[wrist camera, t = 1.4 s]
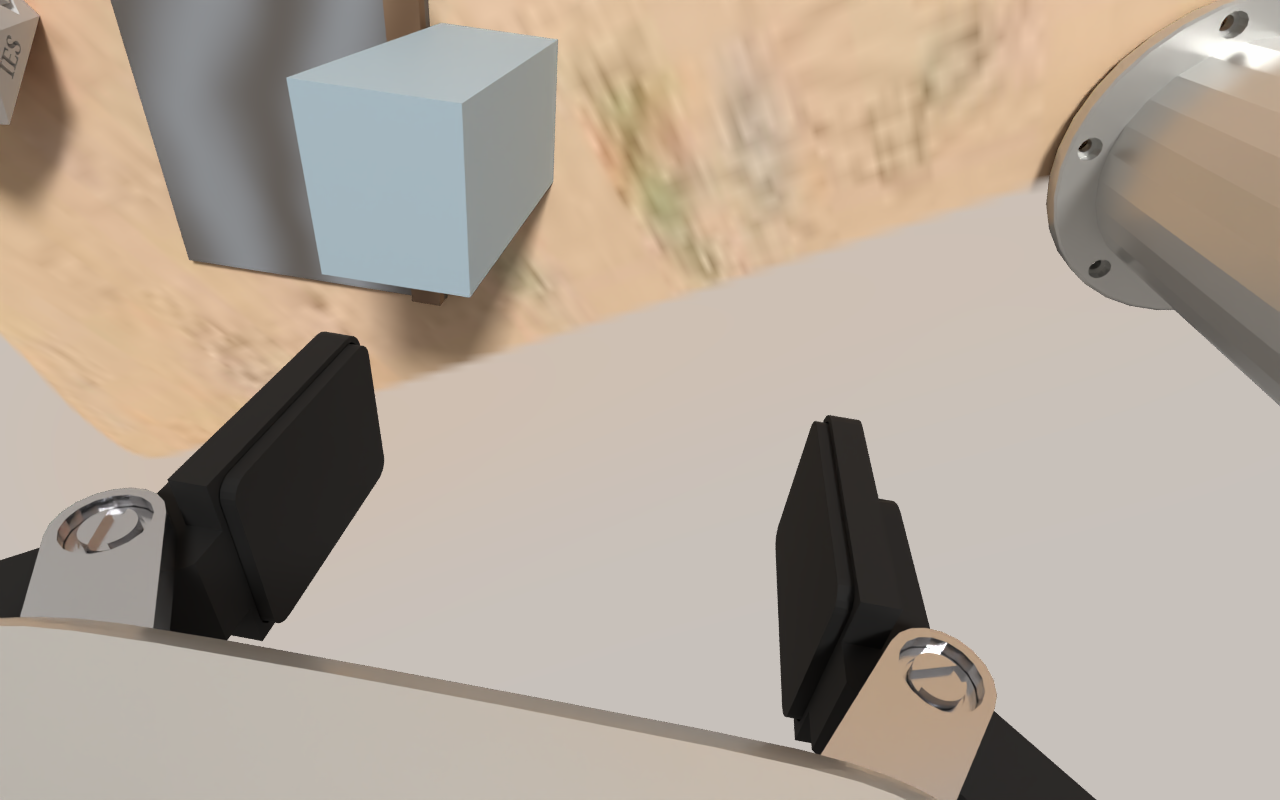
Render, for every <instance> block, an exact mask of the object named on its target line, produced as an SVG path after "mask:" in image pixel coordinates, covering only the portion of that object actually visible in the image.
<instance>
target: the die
mask: <svg viewBox="0 0 1280 800" xmlns="http://www.w3.org/2000/svg"><path fill="white" fill-rule="evenodd" d="M39 17H40V16H39V15H38V14H37V13H36V12H35V11H34V10H33V9H32V8H31V7H30V6H29V5H28V4H27V3H26V2H25V1H24V0H0V124H1V125H10V122H11V119H12V115H13V111H14V108H15V104H16V100H17V97H18V93H19V90H20V86H21V82H22V79H23V75H24V71H25V68H26V64H27V61H28V57H29V53H30V50H31V46H32V42H33V39H34V35H35V32H36V28H37V24H38V21H39Z"/></svg>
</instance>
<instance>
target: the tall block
mask: <svg viewBox="0 0 1280 800" xmlns="http://www.w3.org/2000/svg"><path fill="white" fill-rule="evenodd" d="M557 53H558V40H557V39H550V38H543V37H536V36H529V35H522V34H515V33H508V32H501V31H494V30H487V29H480V28H473V27H466V26H459V25H452V24H445V23H440V24H437V25H434V26H431V27H428V28H425V29H423V30H420V31H417V32H414V33H411V34H408V35H406V36H403V37H400V38H397V39H394V40H391V41H389V42H386V43H383V44H380V45H377V46H374V47H372V48H369V49H366V50H363V51H360V52H357V53H355V54H352V55H349V56H346V57H343V58H340V59H338V60H335V61H332V62H329V63H326V64H323V65H321V66H318V67H315V68H312V69H309V70H306V71H304V72H301V73H298V74H295V75H292V76H289V77H287V78H286V79H287V85H288V90H289V96H290V101H291V107H292V112H293V118H294V123H295V129H296V134H297V140H298V145H299V151H300V156H301V162H302V167H303V173H304V178H305V184H306V189H307V195H308V200H309V206H310V211H311V217H312V222H313V228H314V233H315V239H316V244H317V250H318V255H319V261H320V266H321V272H322V274H324V275H331V276H337V277H343V278H350V279H356V280H362V281H369V282H375V283H381V284H388V285H394V286H400V287H406V288H413V289H419V290H425V291H432V292H438V293H444V294H451V295H457V296H463V297H471V296H472V294H473V293H474V291H475V290H476V289H477V287H478V286H479V284H480V283H481V282H482V280H483V279H484V277H485V276H486V275H487V273H488V272H489V271H490V269H491V268H492V266H493V265H494V264H495V262H496V261H497V259H498V258H499V257H500V255H501V254H502V252H503V251H504V250H505V248H506V247H507V245H508V244H509V243H510V241H511V240H512V238H513V237H514V236H515V234H516V233H517V231H518V230H519V229H520V227H521V226H522V225H523V223H524V222H525V220H526V219H527V218H528V216H529V215H530V213H531V212H532V211H533V209H534V208H535V206H536V205H537V204H538V202H539V201H540V199H541V198H542V197H543V195H544V194H545V192H546V191H547V190H548V188H549V187H550V185H551V184H552V183H553V172H554V142H555V113H556V83H557Z"/></svg>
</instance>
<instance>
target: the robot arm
mask: <svg viewBox="0 0 1280 800" xmlns="http://www.w3.org/2000/svg"><path fill="white" fill-rule="evenodd" d="M1226 17H1227V20H1226V23H1225V24H1224V25H1223V27H1221V28H1220V26H1221V23H1222V22H1223V20H1224V19H1225V18H1226ZM1086 140H1088V141H1087V144H1086V145H1085V147H1083V148H1082V149H1079V147H1080V146H1081V144H1082V143H1083V142H1084V141H1086ZM1046 205H1047V214H1048V223H1049V229H1050V232H1051V235H1052V238H1053V240H1054V243H1055V246H1056V248H1057V251H1058V252H1059V254H1060V255H1061V256H1062V258H1063V259H1064V261H1065V262H1066V263H1067V265H1068V266H1069V267H1070V269H1071V270H1072V271H1073V272H1074V273H1075V274H1076V275H1077V276H1078V277H1079V278H1080V279H1081V280H1082V281H1083V282H1084V283H1085V284H1086V285H1088V286H1089V287H1091V288H1092V289H1094V290H1096V291H1097V292H1099V293H1100V294H1102V295H1104V296H1105V297H1107V298H1110V299H1113V300H1115V301H1118V302H1121V303H1124V304H1126V305H1129V306H1135V307H1142V308H1148V309H1154V310H1176V312H1178V313H1179V314H1180V315H1181V316H1182V317H1183V318H1184V319H1185V320H1186V321H1187V322H1188V323H1190V324H1191V325H1192V326H1193V327H1194V328H1195V329H1196V330H1197V331H1198V332H1199V333H1201V334H1202V335H1203V336H1204V337H1205V338H1206V339H1207V340H1208V341H1209V342H1210V343H1211V344H1213V345H1214V346H1215V347H1216V348H1217V349H1218V350H1219V351H1220V352H1221V353H1222V354H1224V355H1225V356H1226V357H1227V358H1228V359H1229V360H1230V361H1231V362H1232V363H1233V364H1235V365H1236V366H1237V367H1238V368H1239V369H1240V370H1241V371H1242V372H1243V373H1244V374H1246V375H1247V376H1248V377H1249V378H1250V379H1251V380H1252V381H1253V382H1254V383H1255V384H1256V385H1257V386H1259V387H1260V388H1261V389H1262V390H1263V391H1264V392H1265V393H1266V394H1268V396H1270V397H1271V398H1272V399H1273V400H1274V401H1275V402H1276V403H1277V404H1278V405H1279V406H1280V0H1217V1H1215V2H1213V3H1210V4H1208V5H1206V6H1203V7H1201V8H1199V9H1196V10H1194V11H1191V12H1190V13H1188V14H1186V15H1185V16H1183V17H1181V18H1180V19H1178V20H1176V21H1175V22H1173V23H1171V24H1170V25H1168V26H1166V27H1165V28H1163V29H1161V30H1160V31H1158V32H1156V33H1155V34H1154V35H1152V36H1151V37H1150V38H1149V39H1147V40H1146V41H1145V42H1144V43H1142V44H1141V45H1140V46H1139V47H1137V48H1136V49H1135V50H1134V51H1132V52H1131V53H1130V54H1129V55H1127V56H1126V57H1125V58H1124V59H1122V60H1121V61H1120V62H1119V64H1118V65H1117V66H1116V67H1115V68H1114V69H1113V70H1112V71H1111V72H1110V73H1109V74H1108V75H1107V76H1106V77H1105V78H1104V79H1103V80H1102V81H1101V82H1100V83H1099V84H1098V85H1097V87H1096V88H1095V89H1094V90H1093V92H1092V93H1091V94H1090V96H1089V97H1088V99H1087V100H1086V101H1085V103H1084V104H1083V106H1082V107H1081V108H1080V110H1079V111H1078V112H1077V114H1076V115H1075V117H1074V118H1073V120H1072V122H1071V124H1070V126H1069V128H1068V130H1067V132H1066V134H1065V136H1064V138H1063V140H1062V142H1061V144H1060V146H1059V147H1058V150H1057V154H1056V157H1055V160H1054V163H1053V167H1052V170H1051V173H1050V176H1049V184H1048V193H1047V203H1046ZM1094 262H1095V263H1094ZM1093 263H1094V264H1093ZM383 466H384V454H383V448H382V441H381V434H380V427H379V421H378V414H377V407H376V401H375V394H374V387H373V380H372V373H371V367H370V360H369V354H368V350H367V348H366V347H364V346H360V343H359V341H358V339H357V338H355V337H354V336H348V335H342V334H336V333H330V332H321V333H319V334H318V335H316V336H315V337H314V338H313V339H312V340H311V341H310V342H309V343H308V344H307V345H306V346H305V347H304V348H303V349H302V350H301V351H300V352H299V353H298V354H297V355H296V356H295V357H294V358H293V359H292V360H291V361H290V362H288V363H287V364H286V365H285V366H284V367H283V368H282V369H281V370H280V371H279V372H278V373H277V374H276V375H275V376H274V377H273V378H272V379H271V380H270V381H269V382H268V383H267V384H266V385H265V386H264V387H263V388H262V389H261V390H260V391H258V392H257V393H256V394H255V395H254V396H253V397H252V398H251V399H250V400H249V401H248V402H247V403H246V404H245V405H244V406H243V407H242V408H241V409H240V410H239V411H238V412H237V413H236V414H235V415H234V416H233V417H232V418H231V419H230V420H228V421H227V422H226V423H225V424H224V425H223V426H222V427H221V428H220V429H219V430H218V431H217V432H216V433H215V434H214V435H213V436H212V437H211V438H210V439H209V440H208V441H207V442H206V443H205V444H204V445H203V446H202V447H201V448H200V449H198V450H197V451H196V452H195V453H194V454H193V455H192V456H191V457H190V458H189V459H188V460H187V461H186V462H185V463H184V464H183V465H182V466H181V467H180V468H179V469H178V470H177V471H176V472H175V473H174V474H173V475H172V476H171V477H170V478H169V479H168V483H167V484H166V485H165V486H164V487H163V488H162V489H161V490H160V491H159V492H158V493H157V494H156V493H154V492H151V491H149V490H146V489H137V488H123V489H113V490H109V491H105V492H101V493H97V494H94V495H92V496H89V497H87V498H85V499H83V500H80V501H78V502H76V503H74V504H73V505H71V506H70V507H68V508H67V509H65V510H64V511H62V512H61V513H60V514H59V515H58V516H57V517H56V518H55V519H54V520H53V521H52V522H51V523H50V524H49V526H48V528H47V530H46V531H45V533H44V535H43V538H42V542H41V545H40V548H37V549H34V550H31V551H28V552H25V553H22V554H19V555H15V556H13V557H9V558H6V559H3V560H0V800H1096V799H1095V798H1093V797H1092V796H1091V795H1090V794H1089V793H1088V792H1087V791H1085V790H1084V789H1083V788H1082V787H1081V786H1080V785H1078V784H1077V783H1076V782H1075V781H1074V780H1073V779H1072V778H1070V777H1069V776H1068V775H1067V774H1066V773H1065V772H1064V771H1062V770H1061V769H1060V768H1059V767H1058V766H1057V765H1056V764H1054V763H1053V762H1052V761H1051V760H1050V759H1049V758H1047V757H1046V756H1045V755H1044V754H1043V753H1042V752H1041V751H1039V750H1038V749H1037V748H1036V747H1035V746H1034V745H1032V744H1031V743H1030V742H1029V741H1028V740H1027V739H1026V738H1024V737H1023V736H1022V735H1021V734H1020V733H1019V732H1017V731H1016V730H1015V729H1014V728H1013V727H1012V726H1011V725H1009V724H1008V723H1007V722H1006V721H1005V720H1004V719H1002V718H1001V717H1000V716H999V715H998V714H997V713H996V712H994V709H995V703H996V697H997V694H996V689H995V684H994V680H993V678H992V676H991V674H990V673H989V671H988V669H987V667H986V665H985V664H984V663H983V662H982V661H981V659H979V657H978V656H977V655H976V654H975V653H974V652H973V651H972V650H971V649H970V648H968V647H967V646H966V645H964V644H963V643H962V642H960V641H959V640H958V639H955V638H954V637H951V636H949V635H947V634H945V633H943V632H940V631H936V630H932V629H930V627H929V623H928V619H927V615H926V611H925V607H924V603H923V599H922V595H921V591H920V587H919V583H918V580H917V575H916V572H915V568H914V564H913V560H912V556H911V552H910V548H909V544H908V540H907V536H906V532H905V528H904V524H903V521H902V516H901V513H900V510H899V507H898V505H897V504H896V503H895V502H894V501H889V500H883V499H878V494H877V490H876V486H875V481H874V477H873V472H872V467H871V463H870V458H869V454H868V449H867V445H866V441H865V437H864V431H863V427H862V424H861V421H859V420H854V419H848V418H842V417H837V416H831V415H828V416H826V418H825V419H824V422H817V421H814V422H813V424H812V426H811V429H810V432H809V435H808V438H807V441H806V444H805V447H804V450H803V453H802V456H801V459H800V462H799V465H798V468H797V471H796V474H795V477H794V480H793V483H792V486H791V489H790V492H789V495H788V498H787V502H786V505H785V508H784V511H783V514H782V517H781V520H780V523H779V526H778V530H777V535H776V570H777V594H778V618H779V642H780V665H781V689H782V709H783V714H784V716H785V717H790V718H794V730H795V740H798V741H803V742H809V743H811V744H812V750H813V751H814V752H815V753H811V752H807V751H803V750H799V749H795V748H789V747H785V746H780V745H775V744H771V743H766V742H761V741H756V740H751V739H747V738H742V737H737V736H732V735H727V734H723V733H718V732H713V731H708V730H703V729H698V728H694V727H688V726H683V725H677V724H673V723H667V722H662V721H657V720H652V719H647V718H641V717H636V716H631V715H626V714H620V713H615V712H610V711H605V710H599V709H594V708H589V707H583V706H579V705H573V704H568V703H563V702H558V701H553V700H548V699H542V698H537V697H531V696H526V695H521V694H515V693H510V692H504V691H499V690H494V689H488V688H483V687H478V686H472V685H467V684H462V683H457V682H451V681H446V680H440V679H435V678H430V677H424V676H419V675H414V674H408V673H403V672H397V671H392V670H387V669H381V668H376V667H370V666H365V665H359V664H353V663H348V662H343V661H337V660H331V659H326V658H321V657H315V656H310V655H303V654H298V653H293V652H288V651H282V650H276V649H271V648H265V647H260V646H254V645H249V644H243V643H238V642H232V641H227V640H228V638H229V637H230V636H231V635H233V636H239V637H244V638H249V639H254V640H260V641H263V640H264V638H265V636H266V635H267V634H268V632H269V630H270V629H271V628H272V626H273V625H274V623H275V622H276V623H281V622H283V621H284V620H285V619H286V618H287V617H288V616H289V614H290V613H291V611H292V610H293V608H294V607H295V605H296V604H297V602H298V601H299V599H300V598H301V596H302V595H303V593H304V592H305V590H306V589H307V587H308V586H309V584H310V582H311V581H312V579H313V578H314V576H315V575H316V573H317V572H318V570H319V569H320V567H321V566H322V564H323V563H324V561H325V560H326V558H327V557H328V555H329V554H330V552H331V550H332V549H333V548H334V546H335V545H336V543H337V542H338V540H339V539H340V537H341V535H342V534H343V532H344V531H345V529H346V528H347V526H348V525H349V523H350V522H351V520H352V519H353V517H354V516H355V514H356V513H357V511H358V510H359V508H360V507H361V505H362V503H363V502H364V500H365V499H366V498H367V496H368V495H369V493H370V491H371V490H372V488H373V487H374V485H375V484H376V482H377V481H378V479H379V478H380V476H381V473H382V471H383Z"/></svg>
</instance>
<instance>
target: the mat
mask: <svg viewBox="0 0 1280 800" xmlns="http://www.w3.org/2000/svg"><path fill="white" fill-rule="evenodd" d="M111 3H112V6H113V10H114V13H115V16H116V20H117V23H118V26H119V30H120V33H121V36H122V39H123V43H124V46H125V49H126V53H127V56H128V59H129V63H130V66H131V69H132V73H133V76H134V79H135V82H136V86H137V89H138V92H139V96H140V99H141V102H142V106H143V109H144V112H145V115H146V119H147V122H148V125H149V129H150V132H151V135H152V139H153V142H154V145H155V148H156V152H157V155H158V158H159V162H160V165H161V168H162V172H163V175H164V178H165V182H166V185H167V188H168V191H169V195H170V198H171V201H172V205H173V208H174V211H175V215H176V218H177V221H178V224H179V228H180V231H181V234H182V238H183V241H184V244H185V248H186V251H187V254H188V257H189V260H193V261H199V262H206V263H212V264H218V265H224V266H231V267H237V268H243V269H250V270H256V271H262V272H269V273H275V274H281V275H288V276H294V277H300V278H306V279H313V280H319V281H325V282H332V283H338V284H344V285H351V286H357V287H363V288H370V289H376V290H382V291H388V292H395V293H401V294H407V295H412V301H414V302H421V303H427V304H433V305H439V306H440V305H441V304H442V303H443V302H444V300H445V299H446V298H447V294H444V293H438V292H432V291H425V290H419V289H413V288H406V287H400V286H394V285H388V284H381V283H375V282H369V281H362V280H356V279H350V278H343V277H337V276H331V275H324V274H322V272H321V266H320V261H319V255H318V250H317V244H316V239H315V233H314V228H313V222H312V217H311V211H310V206H309V200H308V195H307V189H306V184H305V178H304V173H303V167H302V162H301V156H300V151H299V145H298V140H297V134H296V129H295V123H294V118H293V112H292V107H291V101H290V96H289V90H288V85H287V79H286V78H287V77H289V76H292V75H295V74H298V73H301V72H304V71H306V70H309V69H312V68H315V67H318V66H321V65H323V64H326V63H329V62H332V61H335V60H338V59H340V58H343V57H346V56H349V55H352V54H355V53H357V52H360V51H363V50H366V49H369V48H372V47H374V46H377V45H380V44H383V43H386V42H389V41H391V40H394V39H397V38H400V37H403V36H406V35H408V34H411V33H414V32H417V31H420V30H423V29H425V28H428V27H430V24H429V8H428V0H111Z"/></svg>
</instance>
